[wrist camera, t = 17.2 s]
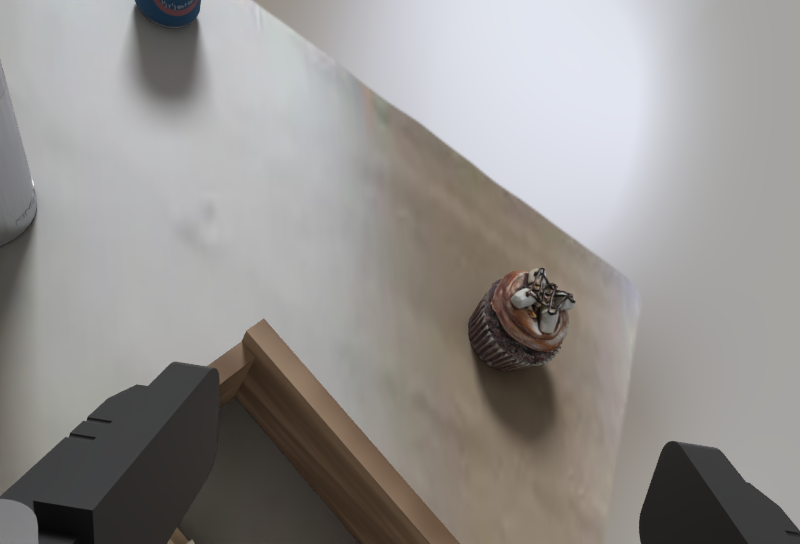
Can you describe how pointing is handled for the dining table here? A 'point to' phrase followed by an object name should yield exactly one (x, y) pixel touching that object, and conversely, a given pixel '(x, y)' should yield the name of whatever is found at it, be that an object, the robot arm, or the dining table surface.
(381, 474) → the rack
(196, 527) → the dining table surface
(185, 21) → the soda can
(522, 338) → the cupcake
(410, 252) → the dining table surface
